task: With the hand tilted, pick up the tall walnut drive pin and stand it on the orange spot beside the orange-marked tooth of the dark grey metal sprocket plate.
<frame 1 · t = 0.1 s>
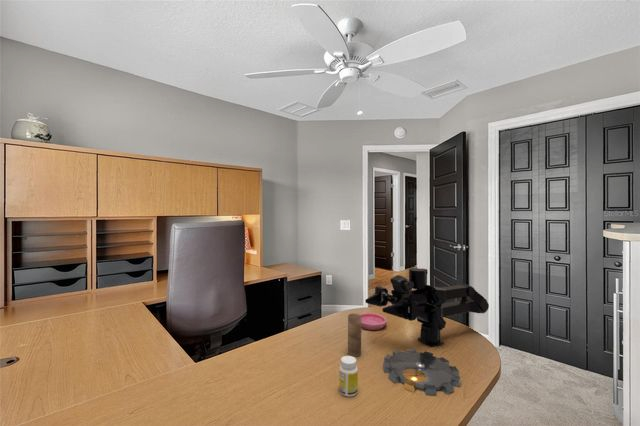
hand: (373, 305, 93), 17 cm above the table, tool horizontal, fingers open, 9 cm apart
sprocket plate: (420, 371, 84), on the table
supplement bottle: (348, 392, 75), on the table
saucer: (371, 326, 118), on the table
drive pin: (354, 353, 94), on the table
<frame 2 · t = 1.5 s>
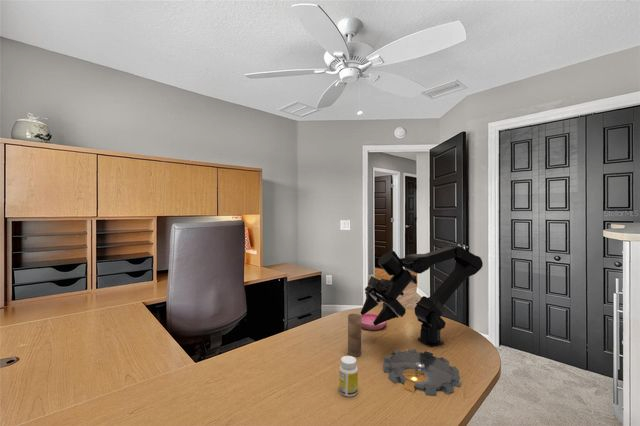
hand: (367, 319, 96), 11 cm above the table, tool tilted 45°, fingers open, 9 cm apart
nothing on the table moved.
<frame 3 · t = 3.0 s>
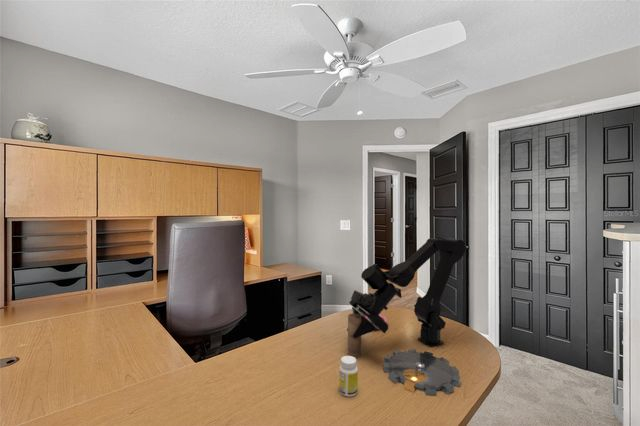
hand: (350, 334, 94), 7 cm above the table, tool tilted 45°, fingers closed on drive pin, 4 cm apart
drive pin: (354, 353, 94), on the table, touching gripper
everything else where it was.
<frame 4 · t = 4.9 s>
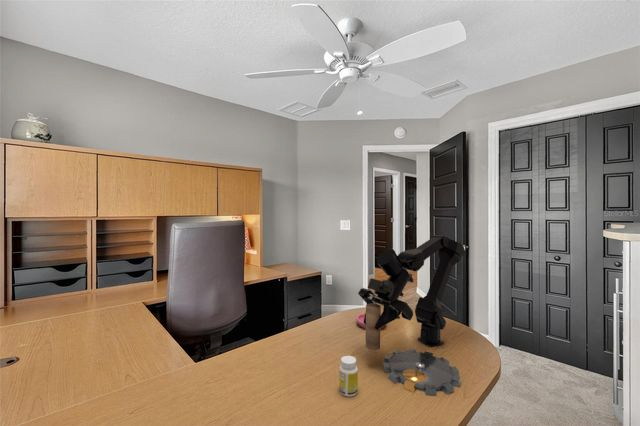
hand: (369, 326, 86), 12 cm above the table, tool tilted 45°, fingers closed on drive pin, 4 cm apart
drive pin: (372, 346, 87), point 6 cm above the table, touching gripper
everything else where it was.
when the fingers open (9 cm above the table, at t = 7.0 s): drive pin stays where it is, resting on sprocket plate.
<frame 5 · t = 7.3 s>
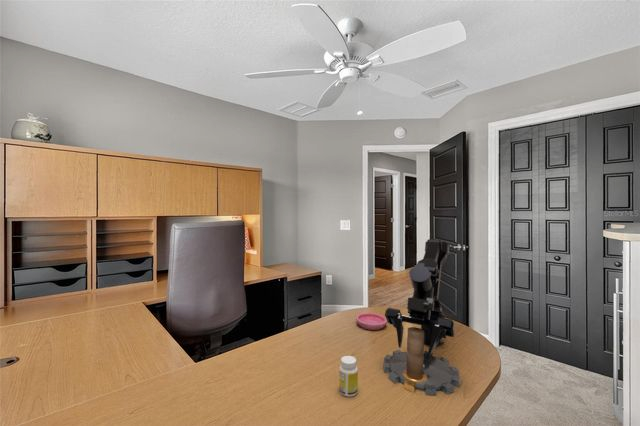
hand: (414, 350, 78), 9 cm above the table, tool tilted 45°, fingers open, 8 cm apart
drive pin: (414, 375, 80), point 2 cm above the table, touching sprocket plate
everything else where it was.
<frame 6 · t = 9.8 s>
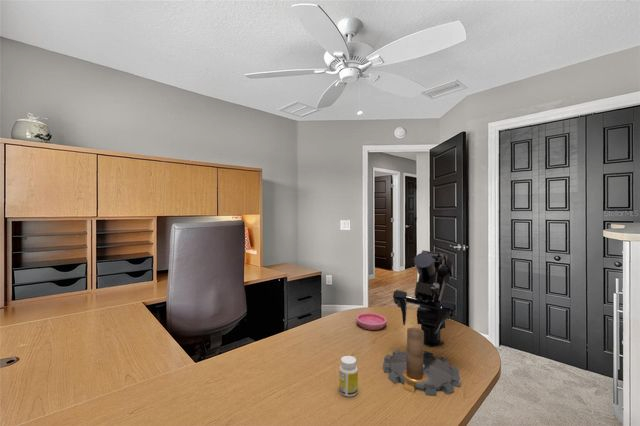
hand: (419, 328, 88), 11 cm above the table, tool tilted 40°, fingers open, 9 cm apart
nothing on the table moved.
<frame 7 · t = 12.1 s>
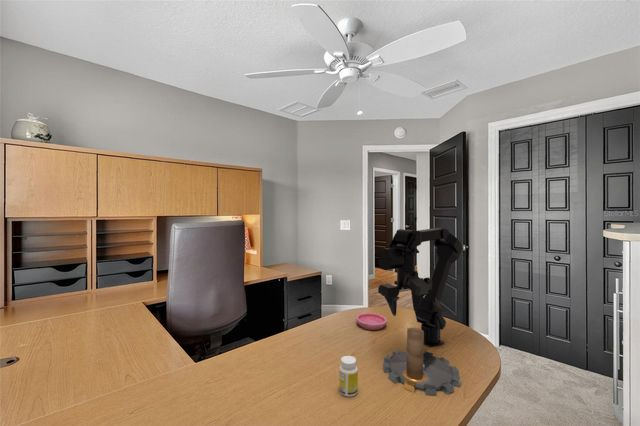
hand: (405, 313, 96), 13 cm above the table, tool pointing down, fingers open, 9 cm apart
nothing on the table moved.
at the end: drive pin 0.0 cm from the target spot on the sprocket plate, point 1.6 cm above the sprocket plate's base; drive pin tilted 0°; the gripper is holding nothing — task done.
